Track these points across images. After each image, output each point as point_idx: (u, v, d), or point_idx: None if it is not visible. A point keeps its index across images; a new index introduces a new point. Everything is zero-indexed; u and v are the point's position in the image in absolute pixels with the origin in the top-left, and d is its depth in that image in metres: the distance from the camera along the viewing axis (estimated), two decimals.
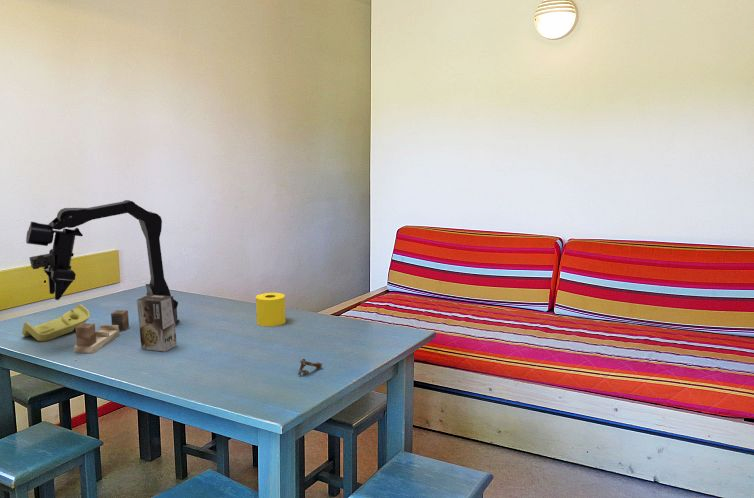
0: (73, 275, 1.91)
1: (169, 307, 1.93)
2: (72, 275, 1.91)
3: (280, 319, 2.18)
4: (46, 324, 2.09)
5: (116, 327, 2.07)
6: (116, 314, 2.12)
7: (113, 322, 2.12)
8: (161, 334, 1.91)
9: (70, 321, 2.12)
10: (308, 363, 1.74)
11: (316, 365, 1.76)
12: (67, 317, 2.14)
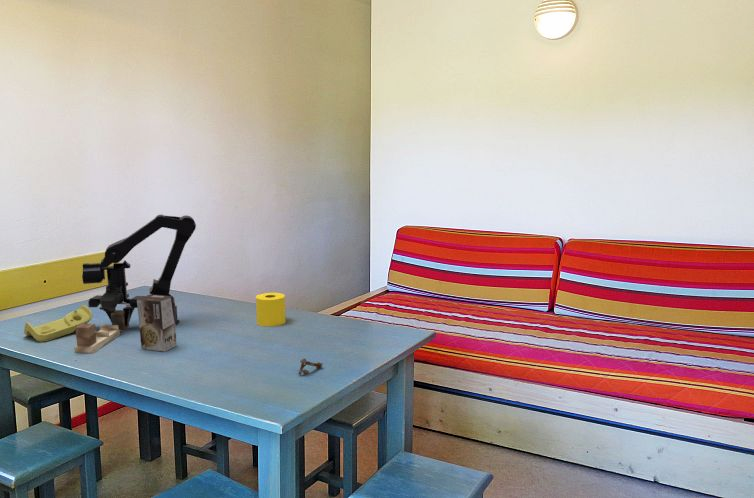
0: None
1: (169, 307, 1.93)
2: None
3: (280, 319, 2.18)
4: (48, 324, 2.09)
5: (116, 327, 2.07)
6: (116, 314, 2.12)
7: (113, 322, 2.12)
8: (161, 334, 1.91)
9: (72, 322, 2.12)
10: (308, 363, 1.74)
11: (316, 365, 1.77)
12: (69, 318, 2.13)
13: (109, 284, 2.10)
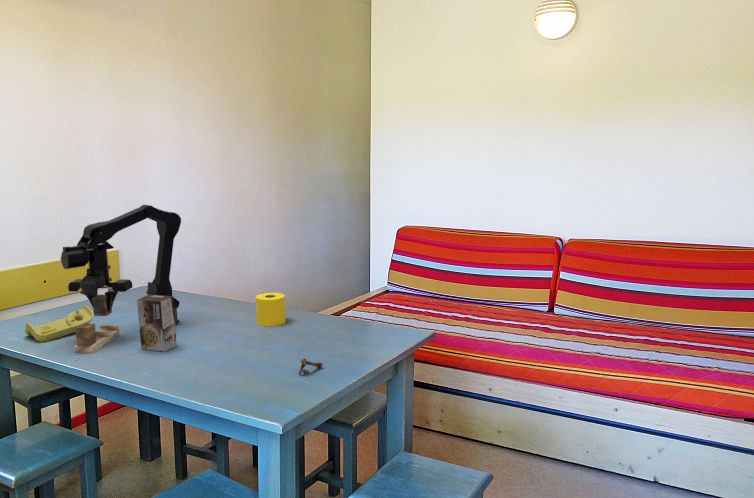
0: (131, 283, 2.03)
1: (169, 307, 1.93)
2: (131, 283, 2.03)
3: (280, 319, 2.18)
4: (49, 324, 2.09)
5: (116, 327, 2.07)
6: (98, 298, 2.00)
7: (95, 307, 2.00)
8: (161, 334, 1.91)
9: (73, 322, 2.11)
10: (309, 363, 1.74)
11: (317, 365, 1.77)
12: (71, 318, 2.12)
13: (90, 267, 1.98)
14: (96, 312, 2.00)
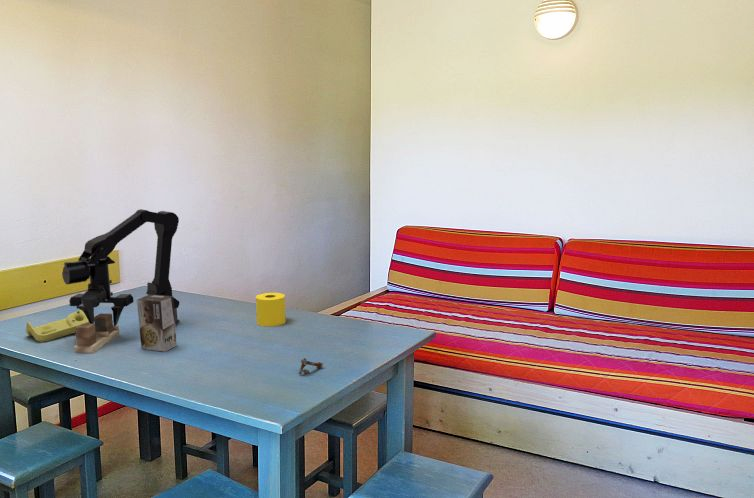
0: (132, 297, 2.04)
1: (169, 307, 1.93)
2: (132, 298, 2.04)
3: (280, 319, 2.18)
4: (50, 324, 2.09)
5: (116, 327, 2.07)
6: (99, 318, 2.01)
7: (96, 326, 2.01)
8: (161, 334, 1.91)
9: (73, 322, 2.11)
10: (309, 363, 1.74)
11: (317, 365, 1.77)
12: (71, 318, 2.12)
13: (91, 282, 1.99)
14: (98, 331, 2.02)
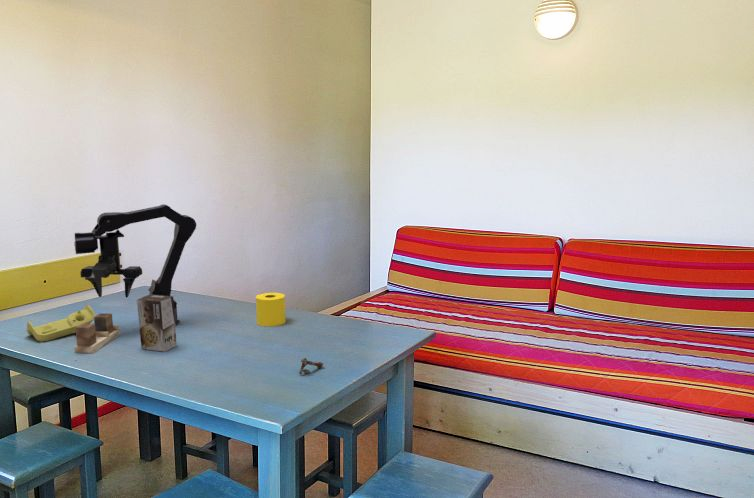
0: (141, 270, 2.10)
1: (169, 307, 1.93)
2: (141, 270, 2.10)
3: (280, 319, 2.18)
4: (50, 324, 2.09)
5: (116, 327, 2.07)
6: (99, 318, 2.01)
7: (96, 326, 2.01)
8: (161, 334, 1.91)
9: (74, 322, 2.11)
10: (309, 362, 1.74)
11: (317, 364, 1.77)
12: (72, 318, 2.12)
13: (102, 253, 2.05)
14: (98, 331, 2.02)
